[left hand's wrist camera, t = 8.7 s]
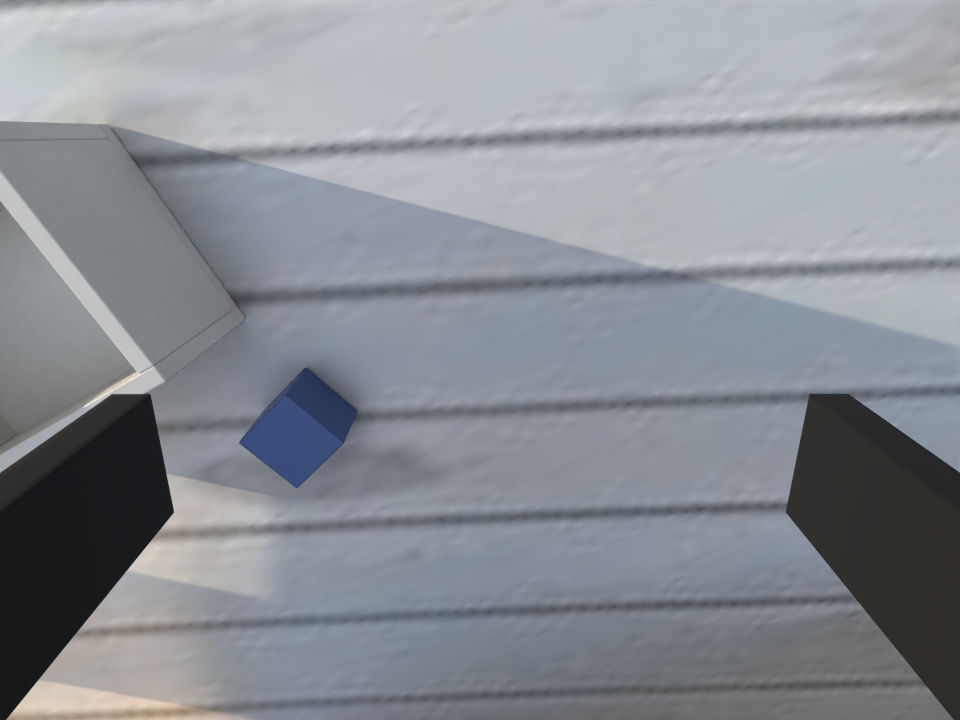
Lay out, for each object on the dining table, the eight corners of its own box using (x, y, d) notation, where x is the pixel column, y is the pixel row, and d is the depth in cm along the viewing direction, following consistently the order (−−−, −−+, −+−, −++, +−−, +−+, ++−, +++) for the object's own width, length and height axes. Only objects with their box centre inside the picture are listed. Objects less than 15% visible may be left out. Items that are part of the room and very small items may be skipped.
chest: (108, 123, 32) (-40, 118, 23) (246, 318, 36) (166, 381, 27) (-123, 278, 35) (-337, 329, 26) (27, 444, 39) (-114, 540, 30)
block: (305, 366, 37) (285, 394, 33) (358, 411, 38) (344, 442, 34) (263, 411, 38) (238, 443, 34) (315, 453, 39) (296, 489, 35)
